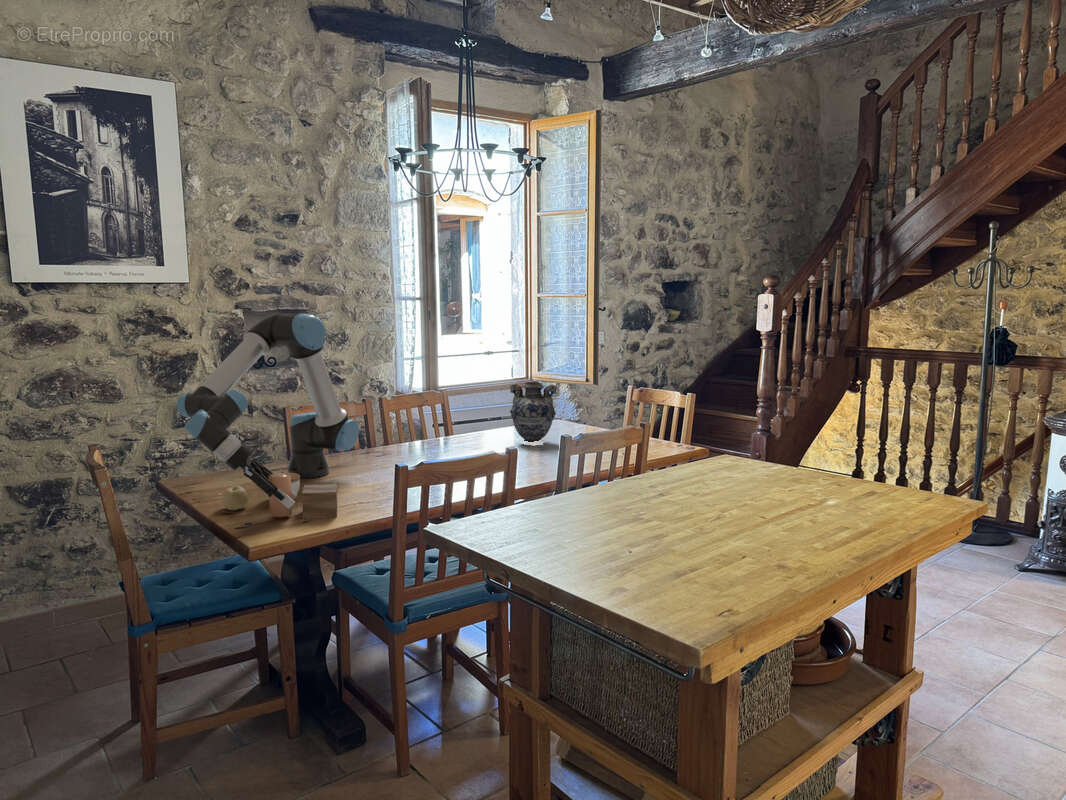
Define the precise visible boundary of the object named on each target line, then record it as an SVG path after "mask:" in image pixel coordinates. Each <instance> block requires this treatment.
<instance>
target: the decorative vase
mask: <svg viewBox="0 0 1066 800" xmlns="http://www.w3.org/2000/svg"><path fill="white" fill-rule="evenodd" d="M523 388H524V389H523ZM557 388H558V387H557V385H554V384H549V385H547V386H545V385H543V383H542V382H534V381H533V382H532V381H531V382H530V381H529V382H524V384H523V385H522V387H521V385H519V384H518V383H513V384H511V385H510V387H509V389H510V393H511V394H514V396H513V397H512V405H511V409H510V411H509V413H510V414H511V415H510V416H511V419H512V421H513V427H514V428H515V431H516V432H517V434H518V436H520V437H521V438H522V439H523V440H524V441H528V442H534V441H539V440H542V439H543V438H544V437H546V436H547V434H548V433H549V432H550V429H551V427H552V425H553V421H554V419H555V415H556V410H555V406H554V399H553V395H556V394H557V390H558V389H557ZM542 389H543V395H542ZM523 390H525V392H524V391H523ZM524 393H525V394H524Z"/></svg>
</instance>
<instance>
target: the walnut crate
mask: <svg viewBox="0 0 1066 800" xmlns="http://www.w3.org/2000/svg"><path fill="white" fill-rule="evenodd" d="M301 498H302V499H301V501H302V502H301V503H302V504H301V505H302V519H303V520H305V519H304V518H314V519H323V518H322V517H331V518H337V517H338V509H337V508H338V507H339V506H338V483H322V484H320V483H319V484H304V485H303V488H302V492H301Z"/></svg>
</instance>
